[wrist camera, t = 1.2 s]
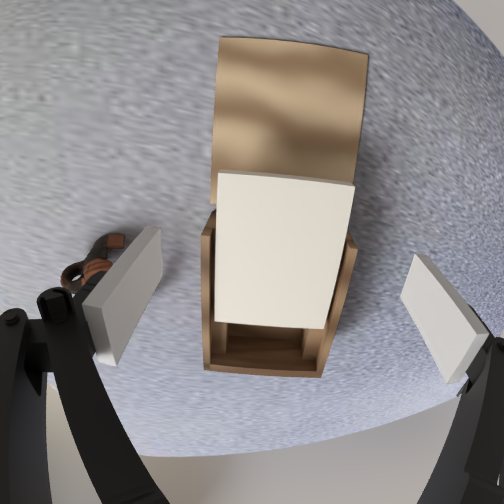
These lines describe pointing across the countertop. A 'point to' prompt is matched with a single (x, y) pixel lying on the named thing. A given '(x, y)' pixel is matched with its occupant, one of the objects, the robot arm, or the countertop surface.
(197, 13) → the countertop surface
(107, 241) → the pottery mug
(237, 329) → the walnut box
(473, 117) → the countertop surface
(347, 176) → the cork mat
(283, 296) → the cover plate
